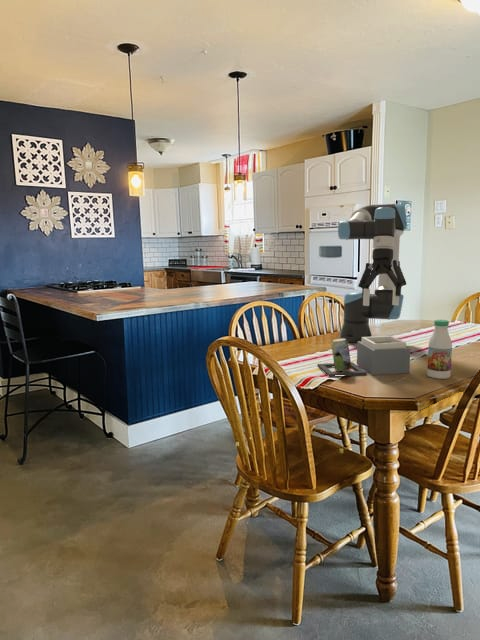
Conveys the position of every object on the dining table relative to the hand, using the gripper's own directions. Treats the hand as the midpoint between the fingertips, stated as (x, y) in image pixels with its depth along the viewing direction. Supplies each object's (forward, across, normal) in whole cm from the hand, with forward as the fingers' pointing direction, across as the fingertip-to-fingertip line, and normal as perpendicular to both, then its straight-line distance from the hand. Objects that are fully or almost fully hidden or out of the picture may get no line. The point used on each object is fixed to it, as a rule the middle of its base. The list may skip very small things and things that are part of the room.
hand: (380, 305), depth 177 cm
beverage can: (+25, -7, -12) cm, 29 cm away
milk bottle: (+25, +19, +10) cm, 33 cm away
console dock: (+24, 0, +2) cm, 24 cm away
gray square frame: (+25, -7, -12) cm, 29 cm away
